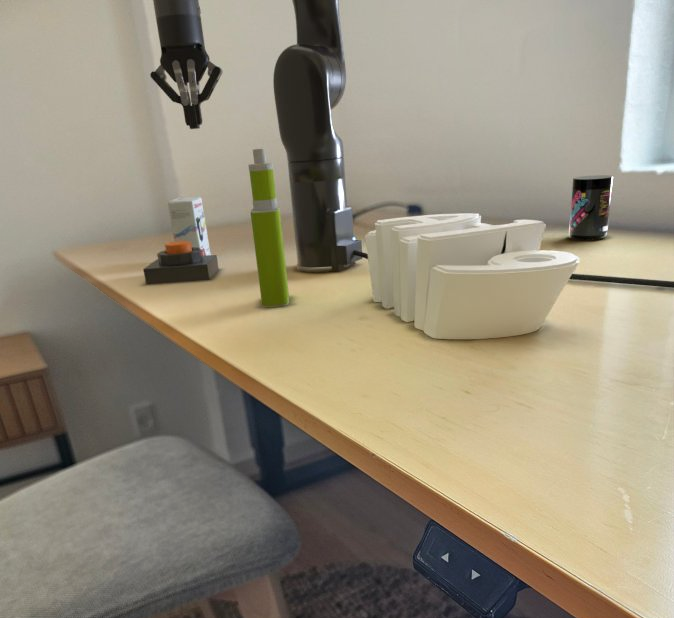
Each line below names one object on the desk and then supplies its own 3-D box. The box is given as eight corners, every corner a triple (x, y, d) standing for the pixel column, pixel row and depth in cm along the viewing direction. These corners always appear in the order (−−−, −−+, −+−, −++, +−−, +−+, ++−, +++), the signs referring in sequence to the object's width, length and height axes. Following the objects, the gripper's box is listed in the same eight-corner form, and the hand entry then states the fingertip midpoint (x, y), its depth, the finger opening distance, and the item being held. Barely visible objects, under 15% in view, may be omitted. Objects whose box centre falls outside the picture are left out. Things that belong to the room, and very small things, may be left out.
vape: (289, 296, 97) (273, 147, 88) (288, 305, 91) (271, 148, 83) (264, 298, 97) (246, 149, 88) (261, 308, 91) (241, 151, 83)
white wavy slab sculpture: (356, 288, 98) (352, 214, 93) (460, 275, 101) (461, 202, 96) (445, 357, 67) (445, 251, 62) (591, 335, 70) (601, 232, 65)
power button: (194, 250, 116) (192, 240, 115) (189, 254, 112) (187, 244, 111) (170, 252, 116) (168, 241, 115) (163, 256, 112) (161, 246, 112)
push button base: (218, 269, 120) (215, 244, 118) (209, 280, 112) (205, 253, 110) (159, 274, 120) (154, 249, 118) (146, 284, 112) (140, 258, 110)
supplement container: (573, 234, 125) (578, 175, 121) (611, 235, 122) (617, 174, 117) (563, 240, 120) (568, 179, 116) (601, 241, 117) (608, 178, 112)
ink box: (203, 265, 125) (192, 200, 120) (178, 267, 125) (166, 202, 120) (211, 257, 132) (202, 195, 127) (188, 259, 133) (177, 197, 127)
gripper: (133, 15, 108) (154, 131, 116) (212, 8, 108) (228, 125, 116) (145, 22, 115) (163, 131, 123) (220, 15, 115) (234, 125, 122)
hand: (195, 128), depth 119 cm, fingers closed
